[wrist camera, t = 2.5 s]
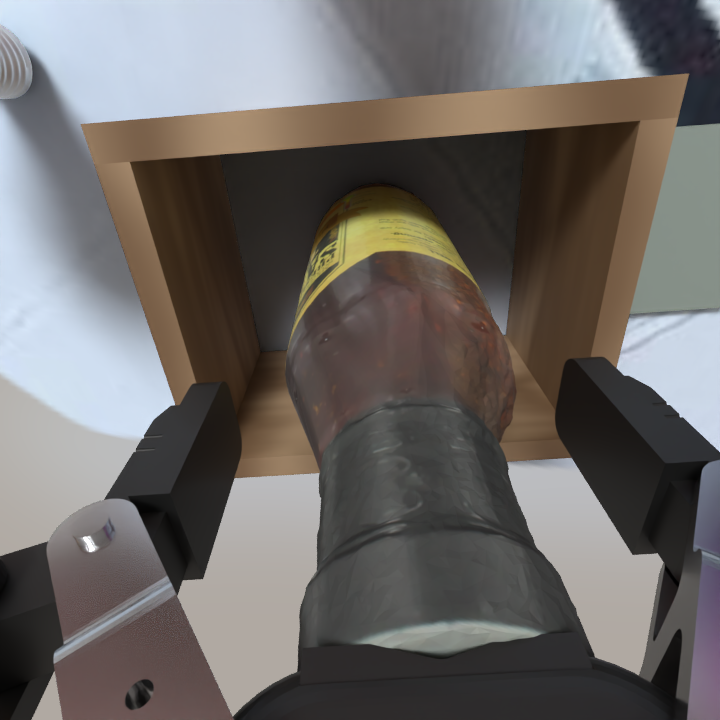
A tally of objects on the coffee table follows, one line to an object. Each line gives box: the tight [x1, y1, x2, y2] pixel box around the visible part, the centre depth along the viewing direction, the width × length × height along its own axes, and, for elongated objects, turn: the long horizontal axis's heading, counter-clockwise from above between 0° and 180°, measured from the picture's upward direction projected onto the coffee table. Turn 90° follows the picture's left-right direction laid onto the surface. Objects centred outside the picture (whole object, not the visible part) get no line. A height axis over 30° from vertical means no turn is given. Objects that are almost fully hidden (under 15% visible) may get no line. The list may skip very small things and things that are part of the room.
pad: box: [630, 124, 720, 314], centre depth 22 cm, size 9×9×1 cm
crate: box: [81, 74, 689, 478], centre depth 19 cm, size 16×13×9 cm
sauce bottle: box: [285, 183, 595, 672], centre depth 14 cm, size 7×6×20 cm
